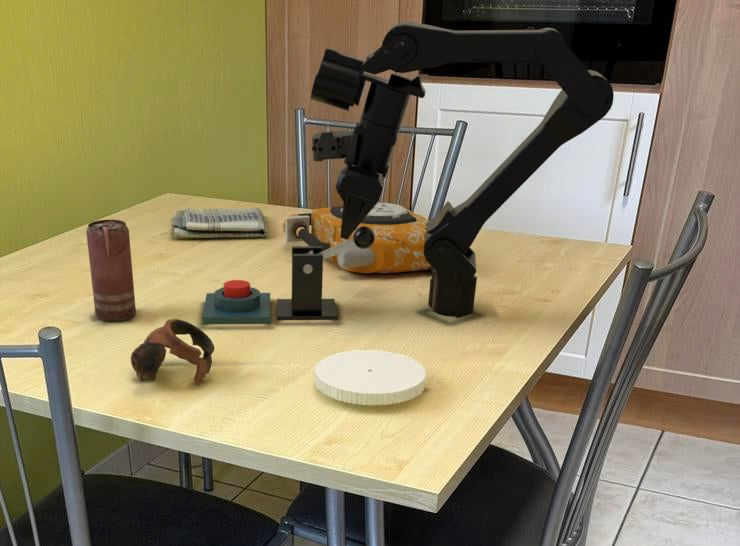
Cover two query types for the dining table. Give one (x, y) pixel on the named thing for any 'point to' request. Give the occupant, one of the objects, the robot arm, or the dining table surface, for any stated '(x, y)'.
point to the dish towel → (219, 223)
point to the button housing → (236, 308)
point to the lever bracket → (306, 289)
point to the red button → (236, 289)
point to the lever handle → (351, 242)
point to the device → (391, 245)
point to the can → (111, 270)
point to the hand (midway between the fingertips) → (346, 229)
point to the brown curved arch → (172, 350)
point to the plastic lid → (370, 377)
